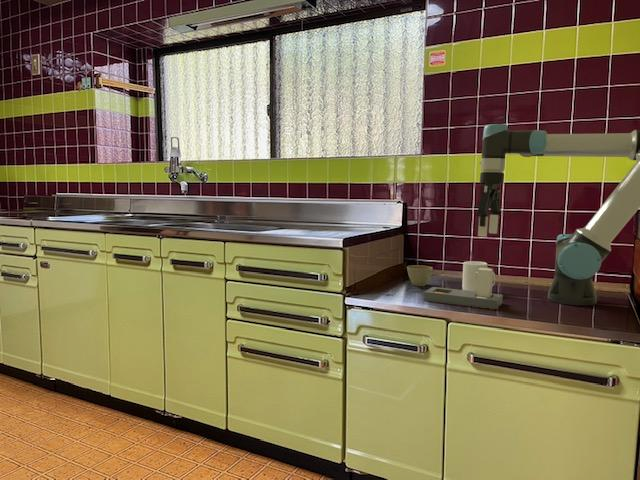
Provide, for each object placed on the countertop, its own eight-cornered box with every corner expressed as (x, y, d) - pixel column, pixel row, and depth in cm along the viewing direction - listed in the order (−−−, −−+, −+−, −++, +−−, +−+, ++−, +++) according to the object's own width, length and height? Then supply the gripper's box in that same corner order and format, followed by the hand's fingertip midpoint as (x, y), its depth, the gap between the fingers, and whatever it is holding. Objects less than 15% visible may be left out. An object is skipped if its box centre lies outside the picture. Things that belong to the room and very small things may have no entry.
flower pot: (431, 288, 188) (431, 269, 187) (405, 286, 191) (405, 268, 190) (432, 283, 197) (433, 265, 197) (407, 281, 200) (408, 264, 199)
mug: (491, 295, 176) (493, 266, 175) (458, 291, 182) (460, 263, 181) (498, 291, 183) (499, 263, 182) (466, 287, 190) (467, 260, 188)
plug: (491, 304, 163) (492, 268, 162) (488, 306, 160) (490, 270, 158) (475, 302, 166) (477, 267, 164) (473, 304, 162) (474, 269, 161)
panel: (502, 303, 164) (502, 294, 164) (496, 309, 156) (497, 300, 155) (432, 294, 176) (432, 286, 176) (423, 300, 168) (424, 291, 167)
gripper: (490, 172, 175) (486, 231, 178) (470, 170, 154) (465, 236, 157) (512, 173, 171) (507, 233, 174) (494, 170, 150) (489, 238, 153)
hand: (487, 235), depth 165 cm, fingers open, 13 cm apart
